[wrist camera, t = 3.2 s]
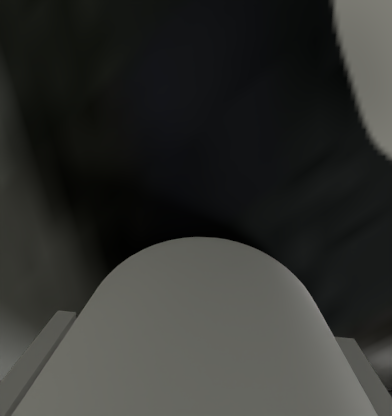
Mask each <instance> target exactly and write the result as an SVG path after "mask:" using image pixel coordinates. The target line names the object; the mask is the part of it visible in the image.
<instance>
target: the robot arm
mask: <svg viewBox="0 0 392 416" xmlns="http://www.w3.org/2000/svg"><path fill="white" fill-rule="evenodd" d="M75 320H76V312H69V311H59V310H58V311H57V312H56V313H55V314H54V316H53V317H52V318H51V319H50V321H49V322H48V323H47V324H46V326H45V327H44V328H43V329H42V331H41V332H40V333H39V334H38V336H37V337H36V338H35V339H34V341H33V342H32V343H31V344H30V346H29V347H28V348H27V349H26V351H25V352H24V353H23V354H22V356H21V357H20V358H19V359H18V361H17V362H16V363H15V364H14V366H13V367H12V368H11V370H10V371H9V372H8V373H7V375H6V376H5V377H4V378H3V380H2V381H1V382H0V416H11V415H12V414H13V412H14V411H15V409H16V408H17V406H18V405H19V403H20V402H21V400H22V399H23V398H24V396H25V395H26V393H27V392H28V390H29V389H30V387H31V386H32V384H33V383H34V381H35V380H36V378H37V377H38V375H39V374H40V372H41V371H42V369H43V368H44V366H45V365H46V363H47V362H48V360H49V359H50V357H51V356H52V354H53V353H54V351H55V350H56V348H57V347H58V346H59V344H60V343H61V341H62V340H63V338H64V337H65V335H66V334H67V332H68V331H69V329H70V328H71V326H72V325H73V323H74V322H75ZM335 339H336V341H337V343H338V345H339V347H340V348H341V350H342V352H343V354H344V356H345V357H346V359H347V361H348V363H349V365H350V366H351V368H352V370H353V372H354V374H355V375H356V377H357V379H358V381H359V383H360V384H361V386H362V388H363V390H364V392H365V393H366V395H367V397H368V399H369V400H370V402H371V404H372V406H373V408H374V409H375V411H376V413H377V415H378V416H392V397H391V396H390V394H389V393H388V391H387V389H386V388H385V386H384V385H383V383H382V382H381V380H380V379H379V377H378V376H377V374H376V372H375V371H374V369H373V368H372V366H371V365H370V363H369V362H368V360H367V358H366V357H365V355H364V354H363V352H362V351H361V349H360V348H359V346H358V344H357V343H356V341H355V340H354V339H351V338H341V337H335Z"/></svg>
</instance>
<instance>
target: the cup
mask: <svg viewBox="0 0 392 416" xmlns="http://www.w3.org/2000/svg"><path fill="white" fill-rule="evenodd" d="M11 416H378V415H377V413H376V411H375V409H374V408H373V406H372V404H371V402H370V400H369V399H368V397H367V395H366V393H365V392H364V390H363V388H362V386H361V384H360V383H359V381H358V379H357V377H356V375H355V374H354V372H353V370H352V368H351V366H350V365H349V363H348V361H347V359H346V357H345V356H344V354H343V352H342V350H341V348H340V347H339V345H338V343H337V341H336V339H335V338H334V336H333V334H332V332H331V330H330V329H329V327H328V325H327V323H326V321H325V320H324V318H323V316H322V314H321V312H320V311H319V309H318V307H317V305H316V303H315V302H314V300H313V298H312V297H311V295H310V293H309V292H308V291H307V289H306V288H305V287H304V285H303V284H302V283H301V282H300V281H299V280H298V278H297V277H296V276H295V275H294V274H293V273H292V272H290V271H289V270H288V269H287V268H286V267H285V266H283V265H282V264H281V263H279V262H278V261H277V260H275V259H274V258H272V257H271V256H269V255H267V254H265V253H263V252H262V251H260V250H258V249H255V248H253V247H250V246H248V245H245V244H242V243H239V242H236V241H231V240H227V239H221V238H212V237H187V238H179V239H174V240H169V241H165V242H162V243H158V244H155V245H153V246H150V247H148V248H145V249H143V250H141V251H139V252H138V253H136V254H134V255H132V256H130V257H129V258H128V259H126V260H125V261H123V262H122V263H121V264H119V265H118V266H117V267H116V268H115V269H114V270H113V271H112V272H111V273H110V274H108V275H107V276H106V278H105V279H104V280H103V281H102V283H101V284H100V285H99V286H98V288H97V289H96V291H95V292H94V294H93V295H92V297H91V298H90V300H89V301H88V302H87V304H86V305H85V307H84V308H83V310H82V311H81V313H80V314H79V316H78V317H77V319H76V320H75V322H74V323H73V325H72V326H71V328H70V329H69V331H68V332H67V334H66V335H65V337H64V338H63V340H62V341H61V343H60V344H59V346H58V347H57V348H56V350H55V351H54V353H53V354H52V356H51V357H50V359H49V360H48V362H47V363H46V365H45V366H44V368H43V369H42V371H41V372H40V374H39V375H38V377H37V378H36V380H35V381H34V383H33V384H32V386H31V387H30V389H29V390H28V392H27V393H26V395H25V396H24V398H23V399H22V400H21V402H20V403H19V405H18V406H17V408H16V409H15V411H14V412H13V414H12V415H11Z"/></svg>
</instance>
